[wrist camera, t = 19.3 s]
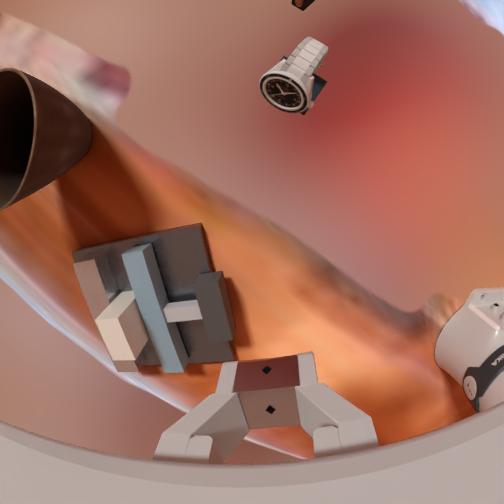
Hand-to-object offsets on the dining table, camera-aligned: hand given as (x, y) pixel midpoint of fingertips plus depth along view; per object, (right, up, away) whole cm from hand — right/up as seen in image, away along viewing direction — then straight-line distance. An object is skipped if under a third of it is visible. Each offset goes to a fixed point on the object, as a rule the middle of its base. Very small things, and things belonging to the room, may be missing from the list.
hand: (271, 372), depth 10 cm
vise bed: (-15, -3, +32) cm, 35 cm away
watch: (+4, +23, +22) cm, 32 cm away
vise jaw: (-9, -3, +30) cm, 31 cm away
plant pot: (-26, +20, +25) cm, 41 cm away
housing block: (-17, -4, +31) cm, 35 cm away
